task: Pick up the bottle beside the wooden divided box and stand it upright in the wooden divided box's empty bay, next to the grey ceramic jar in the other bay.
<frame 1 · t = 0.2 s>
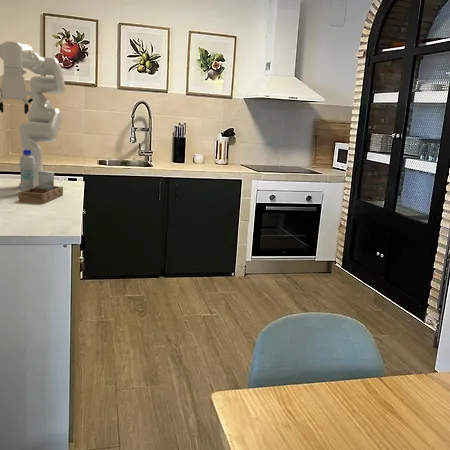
hand: (14, 113, 220), 36 cm above the kitchen counter, tool pointing down, fingers open, 9 cm apart
bottle: (27, 193, 230), on the kitchen counter
wooden divided box: (41, 198, 221), on the kitchen counter
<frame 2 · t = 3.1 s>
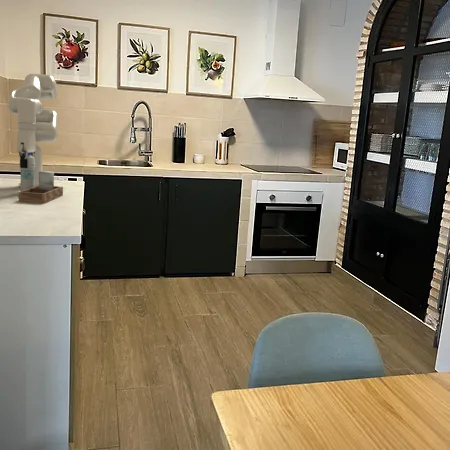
hand: (27, 166, 227), 12 cm above the kitchen counter, tool pointing down, fingers closed on bottle, 6 cm apart
bottle: (27, 193, 230), on the kitchen counter, touching gripper
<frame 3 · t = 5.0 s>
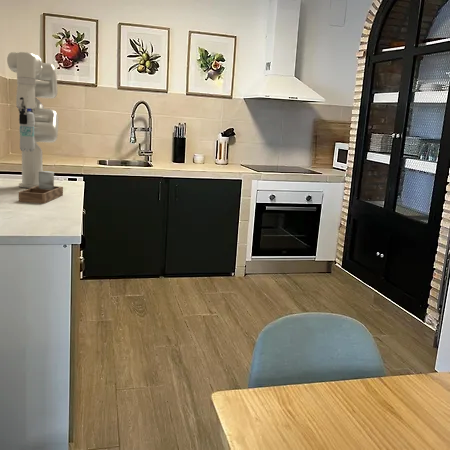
hand: (26, 123, 224), 31 cm above the kitchen counter, tool pointing down, fingers closed on bottle, 6 cm apart
bottle: (27, 151, 226), point 19 cm above the kitchen counter, touching gripper
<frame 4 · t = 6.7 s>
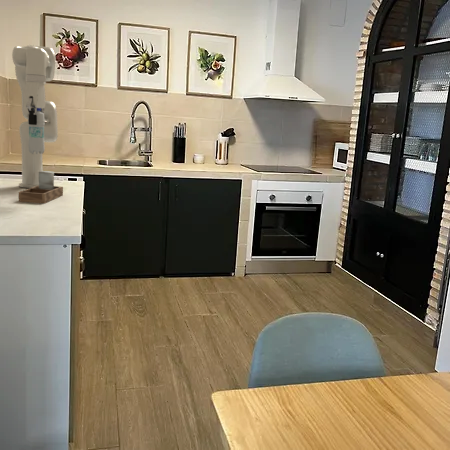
hand: (36, 124, 209), 32 cm above the kitchen counter, tool pointing down, fingers closed on bottle, 6 cm apart
bottle: (36, 154, 212), point 20 cm above the kitchen counter, touching gripper
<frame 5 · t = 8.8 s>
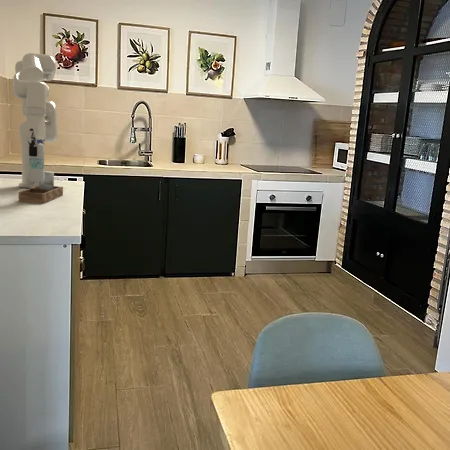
hand: (36, 155, 212), 19 cm above the kitchen counter, tool pointing down, fingers closed on bottle, 6 cm apart
bottle: (36, 184, 214), point 7 cm above the kitchen counter, touching gripper
when the fingers open (15 cm above the kitchen counter, at t = 10.4 s): bottle drops 1 cm, resting on wooden divided box.
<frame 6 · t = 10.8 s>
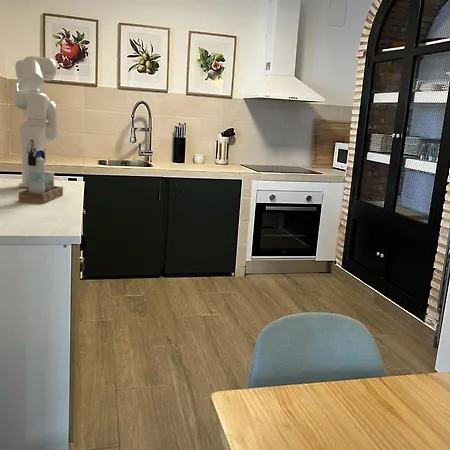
hand: (36, 164, 213), 15 cm above the kitchen counter, tool pointing down, fingers open, 9 cm apart
bottle: (37, 198, 216), point 1 cm above the kitchen counter, touching wooden divided box
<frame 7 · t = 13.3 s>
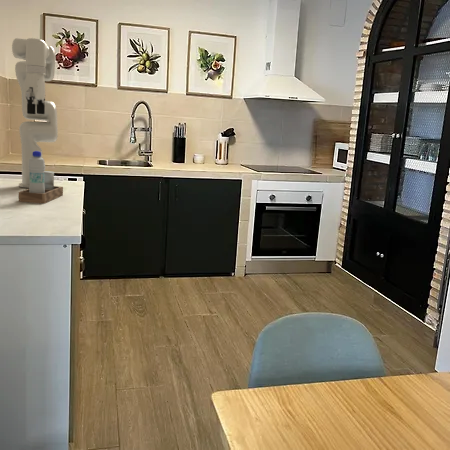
hand: (36, 113, 208), 36 cm above the kitchen counter, tool pointing down, fingers open, 9 cm apart
nothing on the kitchen counter moved.
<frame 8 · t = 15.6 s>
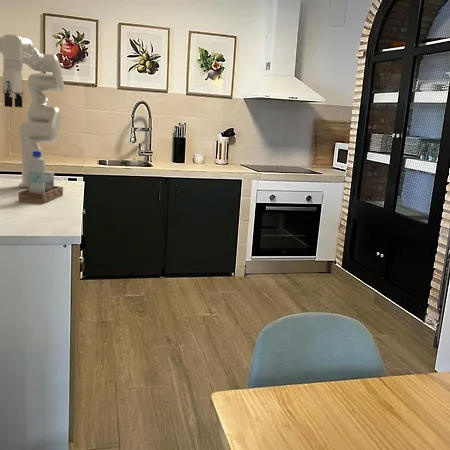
hand: (13, 106, 218), 38 cm above the kitchen counter, tool pointing down, fingers open, 9 cm apart
nothing on the kitchen counter moved.
at the end: bottle 0.6 cm from the target spot on the wooden divided box, point 0.8 cm above the wooden divided box's base; bottle tilted 0°; the gripper is holding nothing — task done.
